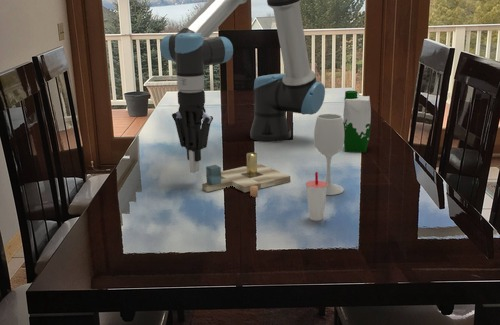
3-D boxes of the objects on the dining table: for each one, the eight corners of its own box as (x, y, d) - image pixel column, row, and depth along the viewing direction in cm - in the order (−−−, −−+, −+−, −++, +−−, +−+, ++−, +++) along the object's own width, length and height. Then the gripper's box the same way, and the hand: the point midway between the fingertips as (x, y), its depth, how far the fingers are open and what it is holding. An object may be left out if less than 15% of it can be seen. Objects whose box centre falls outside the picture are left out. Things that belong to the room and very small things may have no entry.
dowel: (249, 195, 168) (248, 186, 168) (255, 194, 170) (254, 185, 169) (253, 197, 167) (252, 188, 166) (259, 196, 168) (259, 187, 167)
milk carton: (343, 145, 216) (344, 89, 210) (369, 146, 214) (371, 89, 208) (341, 152, 208) (343, 93, 202) (369, 153, 206) (371, 94, 200)
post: (245, 179, 182) (244, 153, 179) (253, 177, 183) (253, 152, 181) (250, 182, 179) (250, 156, 177) (259, 180, 181) (258, 154, 178)
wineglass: (346, 186, 174) (348, 113, 168) (340, 196, 166) (342, 120, 160) (316, 183, 177) (317, 112, 171) (309, 193, 169) (310, 118, 163)
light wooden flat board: (191, 183, 179) (190, 162, 177) (259, 168, 192) (258, 148, 190) (219, 198, 166) (219, 175, 164) (290, 181, 179) (290, 160, 177)
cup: (311, 223, 149) (312, 176, 145) (301, 216, 153) (301, 170, 150) (331, 220, 151) (332, 173, 147) (320, 212, 155) (320, 167, 152)
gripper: (164, 90, 171) (168, 171, 178) (201, 94, 164) (205, 178, 171) (180, 86, 177) (184, 164, 184) (218, 89, 170) (220, 171, 177)
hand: (194, 171), depth 177 cm, fingers closed
